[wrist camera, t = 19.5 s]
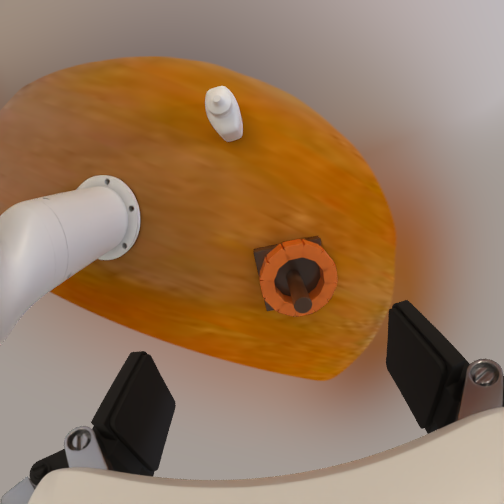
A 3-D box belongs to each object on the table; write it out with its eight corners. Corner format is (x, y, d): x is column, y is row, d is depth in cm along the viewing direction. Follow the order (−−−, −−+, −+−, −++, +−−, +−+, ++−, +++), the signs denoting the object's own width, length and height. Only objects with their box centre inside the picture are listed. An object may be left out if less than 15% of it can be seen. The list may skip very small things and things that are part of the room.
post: (266, 306, 40) (270, 346, 31) (253, 249, 38) (253, 276, 28) (325, 293, 40) (345, 329, 30) (317, 235, 37) (338, 258, 28)
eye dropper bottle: (249, 104, 32) (247, 74, 21) (240, 144, 34) (234, 131, 22) (216, 99, 32) (200, 68, 20) (207, 138, 33) (185, 124, 22)
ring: (267, 313, 39) (268, 322, 37) (253, 247, 36) (253, 253, 34) (335, 299, 38) (340, 307, 36) (327, 232, 36) (332, 237, 33)
